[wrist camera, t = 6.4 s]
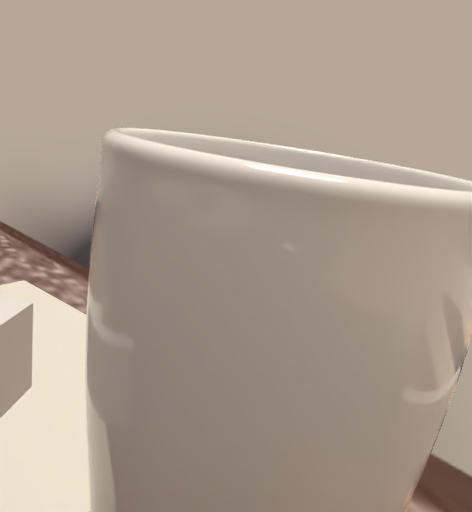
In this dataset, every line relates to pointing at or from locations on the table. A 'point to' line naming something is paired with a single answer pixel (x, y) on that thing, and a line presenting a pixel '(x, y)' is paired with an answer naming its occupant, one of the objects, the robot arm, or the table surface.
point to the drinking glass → (269, 325)
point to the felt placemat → (47, 414)
